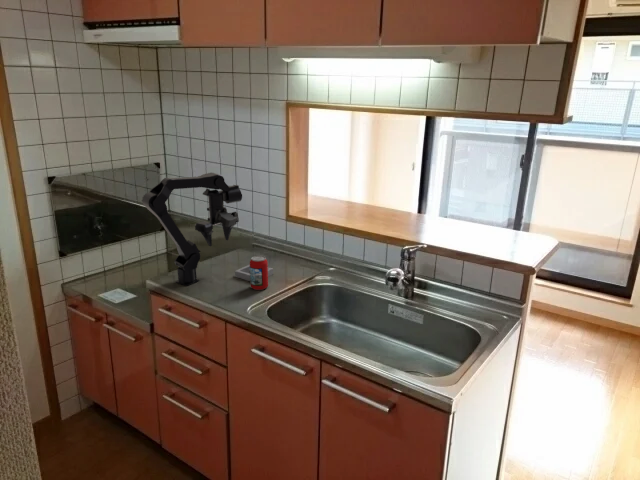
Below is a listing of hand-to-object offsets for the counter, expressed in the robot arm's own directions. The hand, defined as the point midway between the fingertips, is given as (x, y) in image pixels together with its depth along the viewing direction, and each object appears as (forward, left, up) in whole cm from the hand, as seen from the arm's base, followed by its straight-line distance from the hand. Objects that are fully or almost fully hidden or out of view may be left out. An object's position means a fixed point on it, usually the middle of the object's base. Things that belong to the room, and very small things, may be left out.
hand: (218, 243), depth 201 cm
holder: (+6, -13, -13) cm, 19 cm away
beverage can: (-2, -23, -13) cm, 27 cm away
